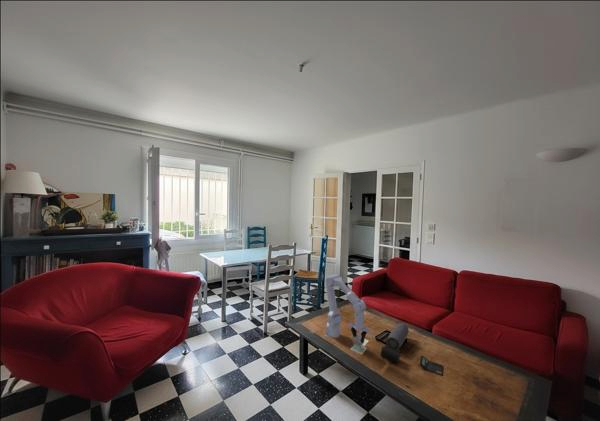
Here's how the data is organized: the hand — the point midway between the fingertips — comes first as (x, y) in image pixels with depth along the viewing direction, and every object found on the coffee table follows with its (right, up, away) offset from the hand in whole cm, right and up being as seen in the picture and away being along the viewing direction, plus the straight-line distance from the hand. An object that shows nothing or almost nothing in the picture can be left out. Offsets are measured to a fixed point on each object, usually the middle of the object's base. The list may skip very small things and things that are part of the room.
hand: (358, 340), depth 157 cm
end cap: (+18, -8, -7) cm, 21 cm away
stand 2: (0, -7, 0) cm, 7 cm away
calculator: (+39, -9, -13) cm, 43 cm away
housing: (0, -2, +1) cm, 2 cm away
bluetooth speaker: (+29, -7, +9) cm, 31 cm away
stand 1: (+4, -7, +9) cm, 12 cm away
